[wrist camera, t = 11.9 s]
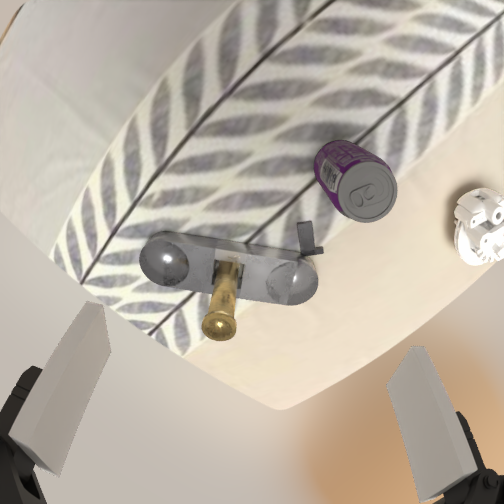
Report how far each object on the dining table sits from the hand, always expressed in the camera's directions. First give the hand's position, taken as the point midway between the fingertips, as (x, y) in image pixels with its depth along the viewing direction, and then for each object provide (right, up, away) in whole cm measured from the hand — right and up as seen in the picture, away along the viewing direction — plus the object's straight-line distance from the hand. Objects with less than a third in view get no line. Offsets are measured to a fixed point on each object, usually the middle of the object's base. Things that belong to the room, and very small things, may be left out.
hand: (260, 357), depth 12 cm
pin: (-4, +2, +34) cm, 34 cm away
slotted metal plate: (-4, +2, +33) cm, 34 cm away
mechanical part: (+34, +10, +29) cm, 46 cm away
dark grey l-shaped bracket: (+7, +6, +31) cm, 33 cm away
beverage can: (+11, +15, +26) cm, 33 cm away
